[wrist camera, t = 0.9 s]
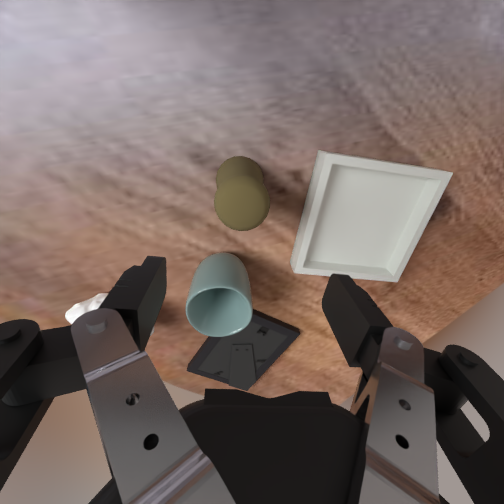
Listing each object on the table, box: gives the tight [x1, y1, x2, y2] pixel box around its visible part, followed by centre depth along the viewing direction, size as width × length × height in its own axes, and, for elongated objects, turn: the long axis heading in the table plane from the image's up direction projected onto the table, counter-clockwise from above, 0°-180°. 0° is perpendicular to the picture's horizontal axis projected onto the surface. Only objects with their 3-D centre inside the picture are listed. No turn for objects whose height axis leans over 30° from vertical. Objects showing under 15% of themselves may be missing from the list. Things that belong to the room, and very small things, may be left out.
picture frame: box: [187, 309, 300, 391], centre depth 45 cm, size 13×2×18 cm
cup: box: [186, 252, 253, 337], centre depth 32 cm, size 8×8×10 cm
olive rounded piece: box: [214, 156, 270, 231], centre depth 26 cm, size 6×6×11 cm
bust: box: [65, 293, 154, 336], centre depth 34 cm, size 12×8×11 cm
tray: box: [290, 150, 453, 282], centre depth 33 cm, size 16×16×3 cm
